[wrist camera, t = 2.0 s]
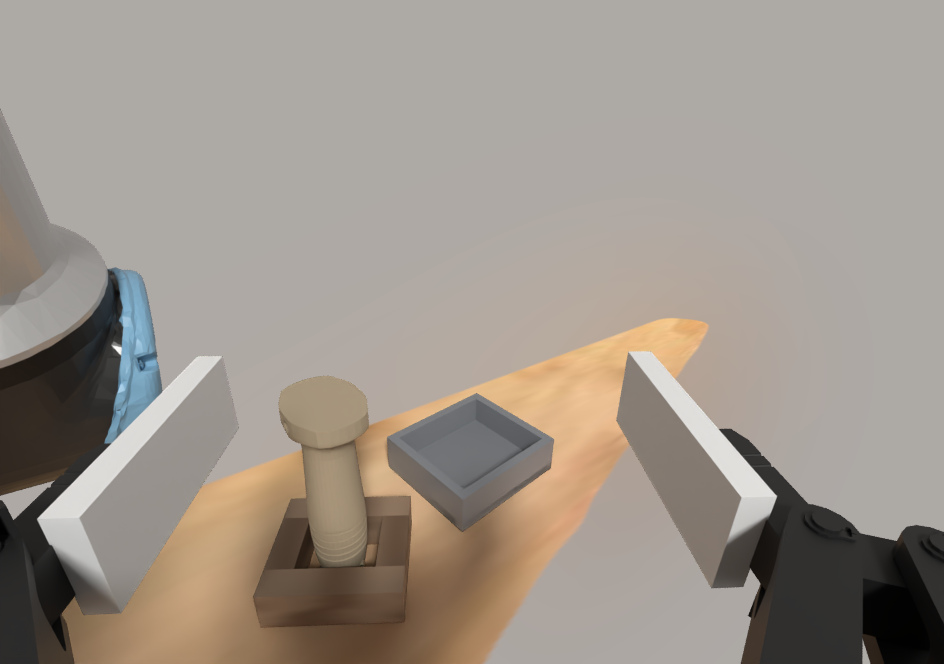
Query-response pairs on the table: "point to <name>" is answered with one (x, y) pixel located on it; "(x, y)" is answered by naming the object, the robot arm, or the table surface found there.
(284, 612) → the collar
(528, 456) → the tray
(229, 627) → the table surface
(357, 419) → the handle
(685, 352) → the table surface
